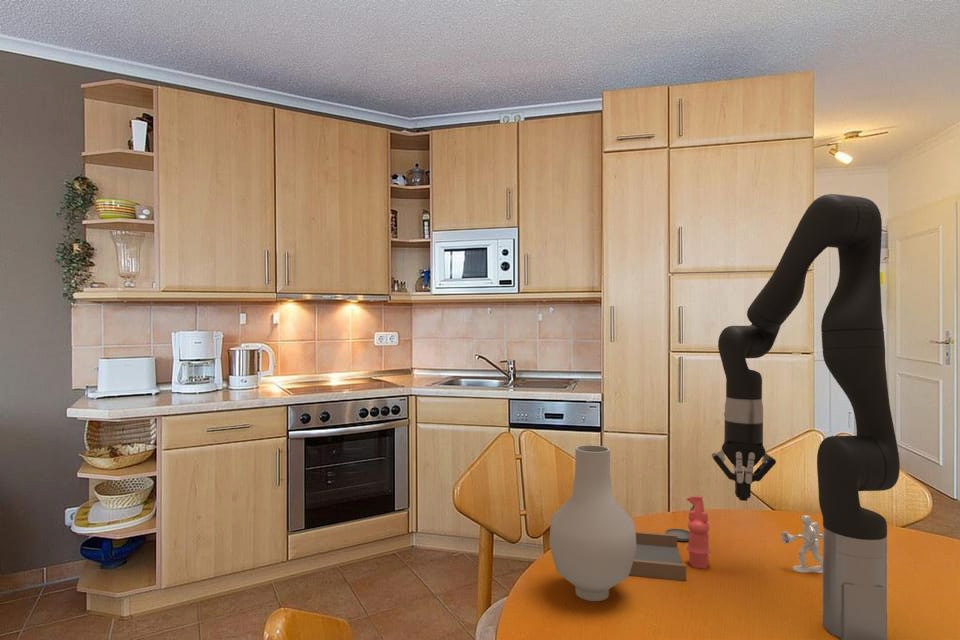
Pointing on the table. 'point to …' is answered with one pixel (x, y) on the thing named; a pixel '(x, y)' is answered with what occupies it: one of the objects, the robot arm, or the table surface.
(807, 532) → the figurine
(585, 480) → the vase
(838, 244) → the robot arm
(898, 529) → the table surface
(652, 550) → the tray
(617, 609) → the table surface
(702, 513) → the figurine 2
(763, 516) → the table surface
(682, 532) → the pocket watch
